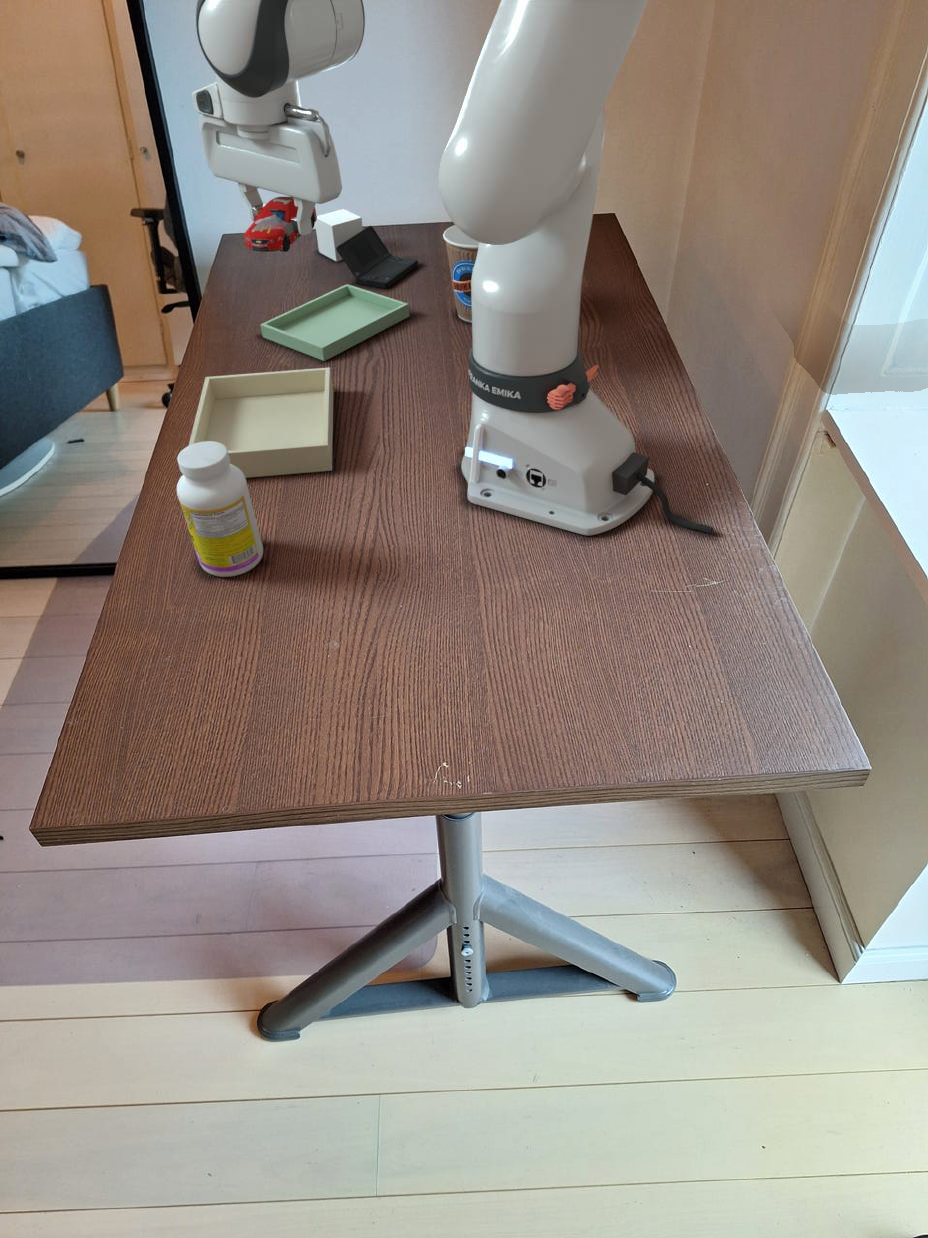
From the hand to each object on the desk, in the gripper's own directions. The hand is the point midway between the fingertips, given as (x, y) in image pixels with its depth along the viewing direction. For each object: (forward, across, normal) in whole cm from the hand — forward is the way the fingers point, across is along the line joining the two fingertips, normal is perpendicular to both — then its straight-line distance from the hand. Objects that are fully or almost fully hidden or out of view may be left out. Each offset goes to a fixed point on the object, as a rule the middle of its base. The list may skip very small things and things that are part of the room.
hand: (281, 227), depth 105 cm
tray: (+19, +7, -13) cm, 24 cm away
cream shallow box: (+19, -8, +14) cm, 25 cm away
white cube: (+20, +28, -35) cm, 49 cm away
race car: (+1, 0, 0) cm, 1 cm away
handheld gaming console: (+20, +16, -32) cm, 41 cm away
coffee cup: (+20, -8, -29) cm, 36 cm away
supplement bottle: (+20, -24, +33) cm, 45 cm away
